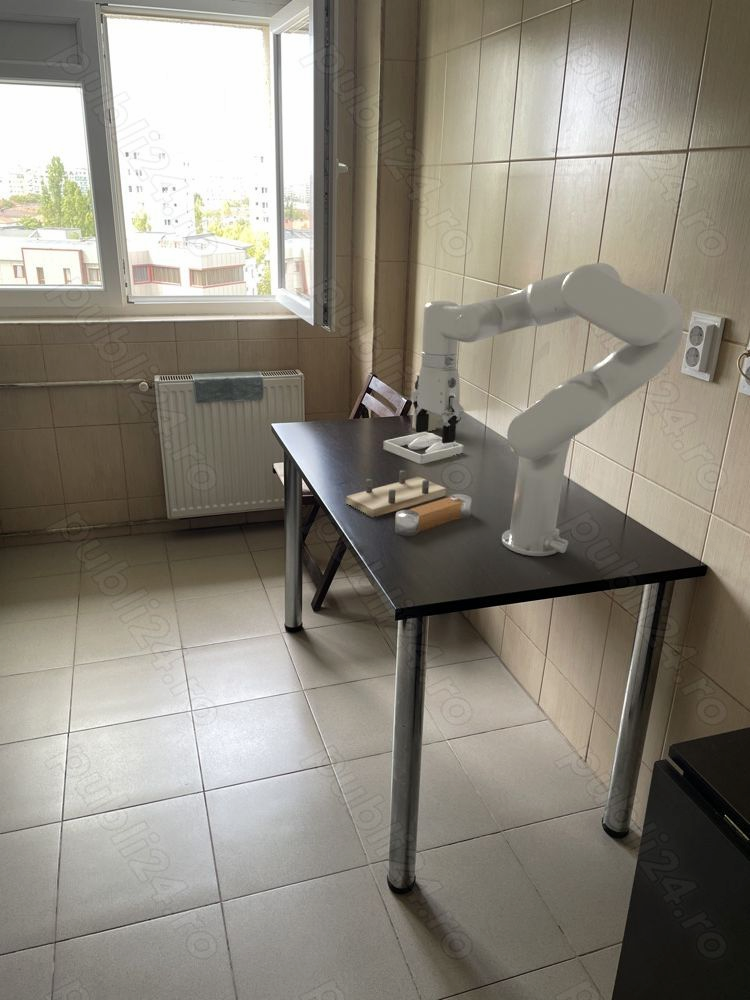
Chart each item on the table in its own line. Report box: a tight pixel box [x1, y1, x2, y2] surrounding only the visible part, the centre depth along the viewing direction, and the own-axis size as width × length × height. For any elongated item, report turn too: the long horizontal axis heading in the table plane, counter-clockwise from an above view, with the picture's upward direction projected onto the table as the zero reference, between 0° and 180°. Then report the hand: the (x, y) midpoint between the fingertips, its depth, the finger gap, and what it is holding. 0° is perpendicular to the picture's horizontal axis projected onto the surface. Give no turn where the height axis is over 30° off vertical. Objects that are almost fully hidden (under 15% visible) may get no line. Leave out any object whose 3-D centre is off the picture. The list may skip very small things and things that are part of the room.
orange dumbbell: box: [394, 493, 472, 537], centre depth 168 cm, size 5×22×4 cm, turn 130°
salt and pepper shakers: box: [407, 432, 457, 454], centre depth 217 cm, size 12×4×11 cm
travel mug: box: [411, 371, 439, 432], centre depth 235 cm, size 8×8×18 cm
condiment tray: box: [382, 431, 465, 465], centre depth 216 cm, size 16×17×2 cm
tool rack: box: [345, 470, 447, 518], centre depth 179 cm, size 10×24×5 cm, turn 130°
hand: (434, 436), depth 164 cm, fingers open, 9 cm apart
